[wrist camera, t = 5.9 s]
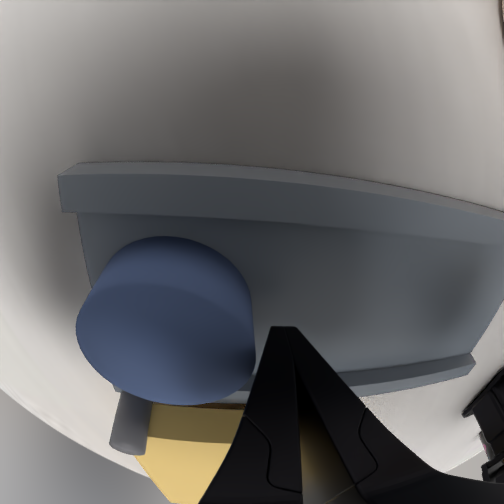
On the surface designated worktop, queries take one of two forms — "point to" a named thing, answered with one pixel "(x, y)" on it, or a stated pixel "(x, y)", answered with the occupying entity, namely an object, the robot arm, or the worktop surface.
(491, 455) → the supplement container
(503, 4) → the teacup with lid
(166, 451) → the cover
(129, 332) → the blue rounded dome
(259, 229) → the grey flanged channel
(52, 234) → the worktop surface
